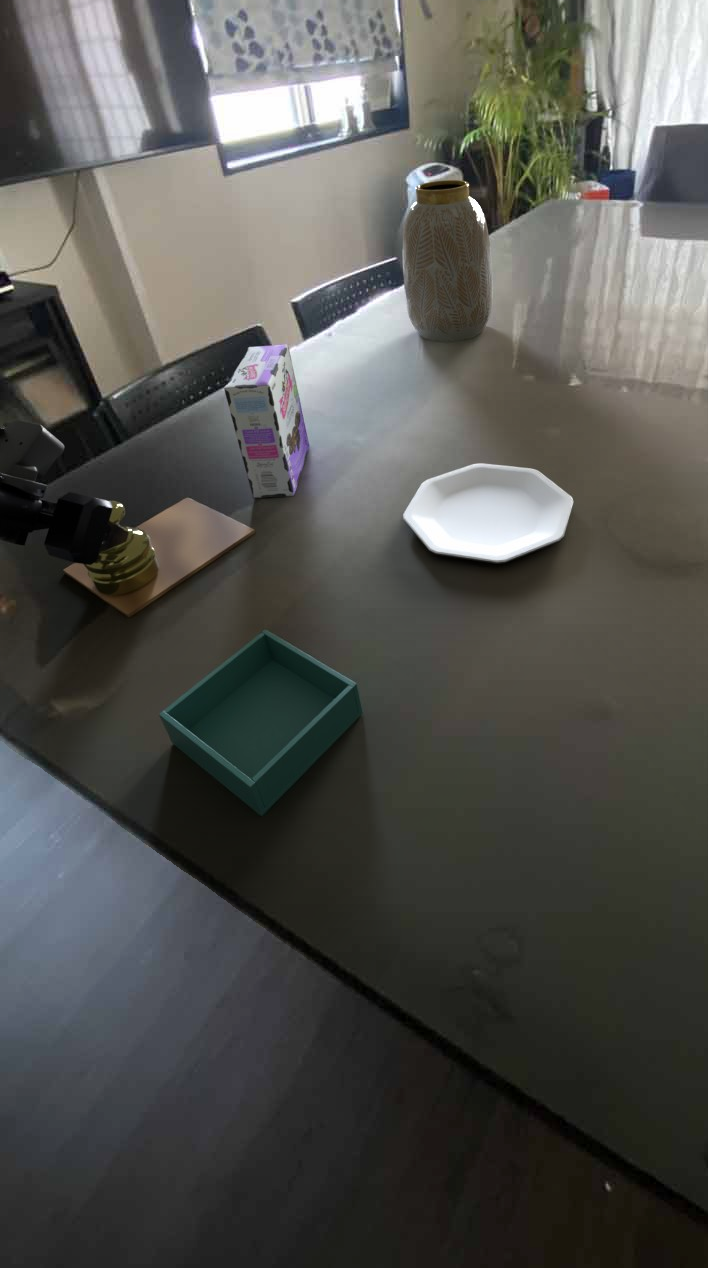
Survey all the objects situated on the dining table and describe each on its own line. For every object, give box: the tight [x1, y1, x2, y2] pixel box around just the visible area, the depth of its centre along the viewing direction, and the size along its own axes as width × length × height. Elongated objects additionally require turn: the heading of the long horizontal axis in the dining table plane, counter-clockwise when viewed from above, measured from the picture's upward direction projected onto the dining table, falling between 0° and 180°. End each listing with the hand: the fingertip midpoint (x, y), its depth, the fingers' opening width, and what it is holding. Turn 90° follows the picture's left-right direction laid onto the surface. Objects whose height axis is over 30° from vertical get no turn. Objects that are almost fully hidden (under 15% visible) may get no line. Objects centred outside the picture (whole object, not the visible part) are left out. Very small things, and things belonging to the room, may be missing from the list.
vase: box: [402, 179, 494, 342], centre depth 130 cm, size 17×17×27 cm
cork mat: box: [62, 496, 256, 618], centre depth 83 cm, size 18×14×1 cm
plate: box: [402, 462, 574, 565], centre depth 84 cm, size 20×20×2 cm
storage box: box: [158, 629, 364, 817], centre depth 60 cm, size 12×12×4 cm
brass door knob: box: [83, 500, 159, 595], centre depth 77 cm, size 7×7×10 cm
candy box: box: [224, 343, 310, 499], centre depth 93 cm, size 14×6×16 cm, turn 179°
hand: (95, 528), depth 74 cm, fingers open, 9 cm apart
